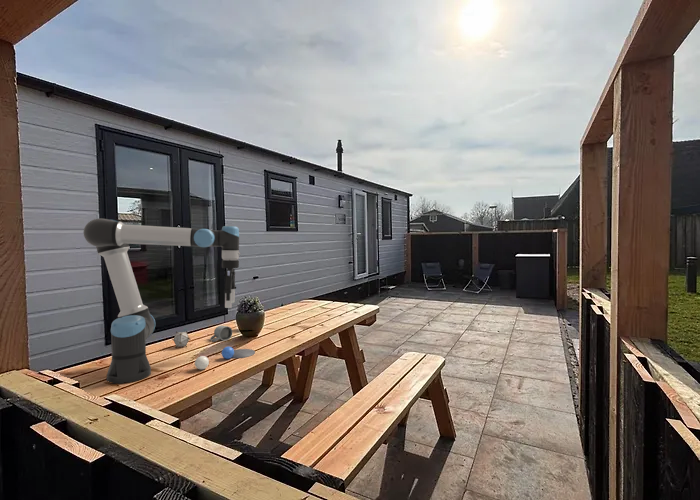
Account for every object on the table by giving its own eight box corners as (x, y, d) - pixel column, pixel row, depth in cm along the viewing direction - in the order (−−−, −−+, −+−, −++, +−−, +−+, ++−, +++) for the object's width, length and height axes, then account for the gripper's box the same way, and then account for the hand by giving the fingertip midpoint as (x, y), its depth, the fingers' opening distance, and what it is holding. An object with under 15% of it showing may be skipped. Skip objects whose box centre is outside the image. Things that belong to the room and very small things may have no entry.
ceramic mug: (225, 336, 204) (225, 323, 204) (232, 339, 198) (232, 325, 198) (207, 340, 196) (207, 326, 196) (214, 343, 191) (214, 329, 190)
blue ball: (222, 361, 161) (222, 349, 161) (220, 357, 166) (220, 346, 166) (235, 359, 164) (234, 347, 164) (233, 356, 169) (233, 344, 169)
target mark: (227, 360, 163) (227, 359, 163) (222, 351, 175) (222, 351, 175) (258, 355, 169) (258, 355, 169) (251, 347, 182) (251, 347, 182)
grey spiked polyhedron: (182, 355, 182) (181, 342, 177) (169, 348, 184) (166, 335, 178) (195, 342, 190) (193, 330, 184) (181, 336, 191) (179, 323, 185)
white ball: (195, 372, 148) (195, 359, 148) (194, 368, 153) (194, 355, 153) (209, 370, 150) (209, 357, 150) (208, 366, 155) (208, 353, 155)
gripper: (236, 260, 155) (235, 309, 156) (241, 258, 180) (240, 300, 180) (217, 260, 154) (217, 310, 154) (225, 258, 178) (225, 300, 178)
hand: (230, 305), depth 167 cm, fingers open, 13 cm apart
